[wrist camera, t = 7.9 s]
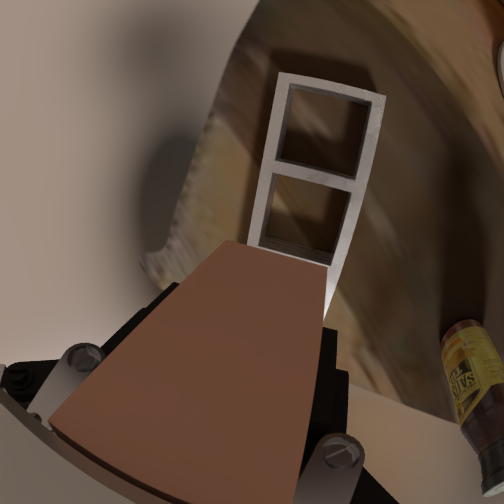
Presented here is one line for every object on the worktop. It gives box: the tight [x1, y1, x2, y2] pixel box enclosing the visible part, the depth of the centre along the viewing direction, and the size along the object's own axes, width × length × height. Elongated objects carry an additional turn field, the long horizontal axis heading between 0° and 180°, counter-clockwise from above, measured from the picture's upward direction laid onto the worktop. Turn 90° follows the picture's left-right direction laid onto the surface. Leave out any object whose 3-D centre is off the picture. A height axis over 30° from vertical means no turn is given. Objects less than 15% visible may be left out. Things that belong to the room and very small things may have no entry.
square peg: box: [47, 240, 328, 504], centre depth 9 cm, size 4×4×10 cm
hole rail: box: [247, 72, 386, 320], centre depth 25 cm, size 23×9×3 cm, turn 170°
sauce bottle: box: [440, 319, 504, 497], centre depth 18 cm, size 7×6×20 cm
